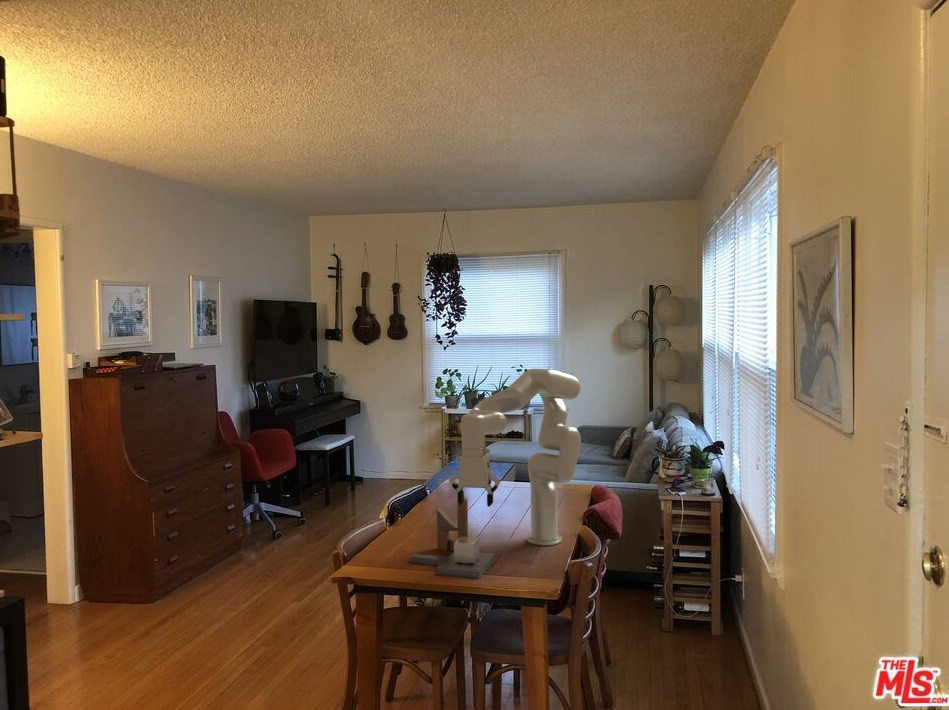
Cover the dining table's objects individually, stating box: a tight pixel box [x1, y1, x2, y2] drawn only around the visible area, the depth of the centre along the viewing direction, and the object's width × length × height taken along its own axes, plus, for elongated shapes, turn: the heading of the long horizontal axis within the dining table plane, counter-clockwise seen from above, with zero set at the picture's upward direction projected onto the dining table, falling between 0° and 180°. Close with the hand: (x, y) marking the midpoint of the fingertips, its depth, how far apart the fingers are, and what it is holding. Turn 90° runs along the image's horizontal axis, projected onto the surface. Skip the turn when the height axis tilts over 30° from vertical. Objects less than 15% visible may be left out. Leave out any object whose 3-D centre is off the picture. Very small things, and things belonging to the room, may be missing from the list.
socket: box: [453, 536, 480, 563], centre depth 221 cm, size 6×6×6 cm
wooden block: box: [436, 497, 469, 552], centre depth 238 cm, size 4×11×18 cm, turn 76°
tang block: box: [410, 551, 497, 580], centre depth 223 cm, size 18×26×7 cm
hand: (475, 504), depth 222 cm, fingers open, 9 cm apart
